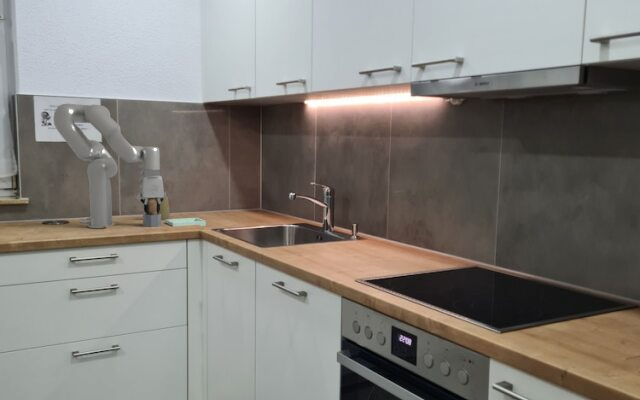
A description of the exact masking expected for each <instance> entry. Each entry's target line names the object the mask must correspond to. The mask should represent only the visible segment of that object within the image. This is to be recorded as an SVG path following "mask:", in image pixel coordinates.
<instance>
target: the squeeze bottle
mask: <svg viewBox="0 0 640 400" xmlns="http://www.w3.org/2000/svg"><path fill="white" fill-rule="evenodd" d="M164 193H165V194H166V195H167V192H165V191H164ZM161 198H162V197H161ZM157 213H158V212H157ZM159 213H160V214H161V221H165V220H167V219H169V218H170V214H171V212H170V204H169V197H168V196H167V198H165V199H164V200H163V201H162V202H161V204H160V211H159Z"/></svg>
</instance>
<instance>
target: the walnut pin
mask: <svg viewBox="0 0 640 400" xmlns="http://www.w3.org/2000/svg"><path fill="white" fill-rule="evenodd" d="M147 205H148V213H147V215H157V198H148V202H147Z"/></svg>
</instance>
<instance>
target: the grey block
mask: <svg viewBox="0 0 640 400" xmlns="http://www.w3.org/2000/svg"><path fill="white" fill-rule="evenodd" d="M142 227H143V228H144V227H145V228H158V227H162V220H161V214H160V213H157V215H147V213H145V212H144V213H143V214H142Z"/></svg>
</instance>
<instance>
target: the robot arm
mask: <svg viewBox="0 0 640 400" xmlns="http://www.w3.org/2000/svg"><path fill="white" fill-rule="evenodd" d="M76 123H81V124H83V123H84V124H91V126H93V127H94V129H95V130H97V132H99V133H100V134H101V136H103V137H104V139H105V140H106V142H107V144H108V145H109V146H110V148H111V150H112V151H113V152H114V153H115V154H117V155H118V157H119V158H120V159H122V160H123V161H124V162H126V163H128V164H129V163H130V164H133V163H138V162H139V163H140V162H142V170H140V171H139V174H140V175H142V176H141V178H140V184H139V185H140V186H139V192H138V194H137V195H136V196H135V199H137V200H138V201H139V202H141V203H142V204H143V212H144V214H145V213H148V205H147V202H148V198H157V212H158V213H159V211H160V204H161V202H162V201H163V200H164V199H165V198H167V197H168V196H167V193H166V194H165V193H164V192H165V190H164V189H165V188H164V182H163V181H164V180H163V176H162V175H161V173H160V172H161V169H160V168H161V165H160V161H161V160H160V159H161V158H160V156H161V155H160V153H161V152H160V148H159V147H157V146H140V145H131V144H130V142H128V141H127V140H126V138H125V137H124V136H123V134H122V132H121V126H120V124H118V123H117V122H116V121H115V120H114V119H113V118H112V117H111V112H110V110H109V109H108V108H107V107H106V106H105V105H101V104H90V105H89V104H75V103H62V104H60V105H58V107H56V109H55V110H54V114H53V124H54V126H55V129H56V130H57V131H58V133H59V134H60V136H61V137H62V138H63V139H64V141H65V142H66V144H67V145H68V146H69V147H70V149H71V150H72V151H73V153H74V154H75V155H76V156H77V158H78V159H80V160H82V161H85V162H86V161H87V162H88V161H90V163H88V165H87V171H86V172H87V178H88V185H89V186H88V188H89V189H88V190H89V212H90V213H89V215H90V216H88V218H82V219H81V218H80V219H79V224H86V227H87V228H90V229H107V227H110V226H115V225H116V222H113V208H112V207H113V206H112V205H113V204H112V202H113V201H112V200H113V199H112V184H111V180H110V178H113V177H115V176H116V175H117V173H118V171H119V169H118V164H117V162H116V161H115V159H114V158H113V157H112V155H111V154H110V152H108V150H107V149H106V148H105V146H104V145H103V143H101V142H99V141H97V140H93V139H89V138H88V137H87V135H85V133H84V132H83V130H82V129H81V128H80V127H79V126H77V124H76ZM161 197H162V198H161Z"/></svg>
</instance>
